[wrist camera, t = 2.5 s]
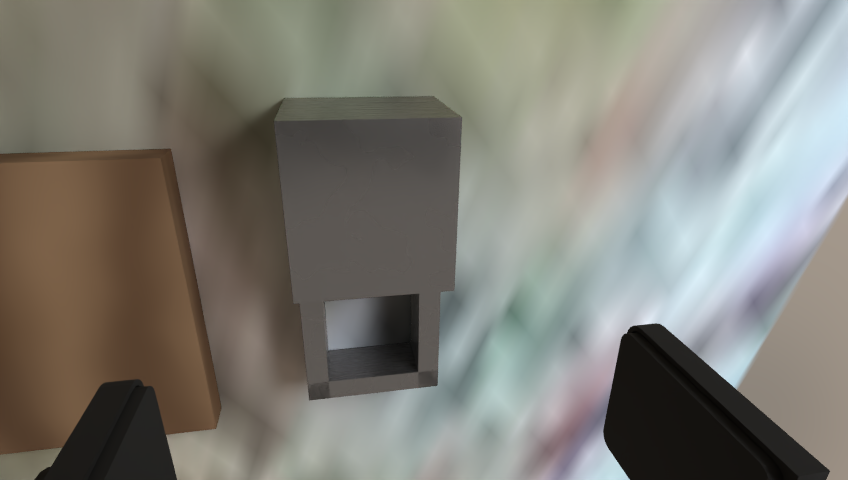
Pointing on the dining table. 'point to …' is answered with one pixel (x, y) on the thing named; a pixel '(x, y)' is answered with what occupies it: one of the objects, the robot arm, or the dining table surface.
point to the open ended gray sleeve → (369, 227)
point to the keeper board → (96, 293)
